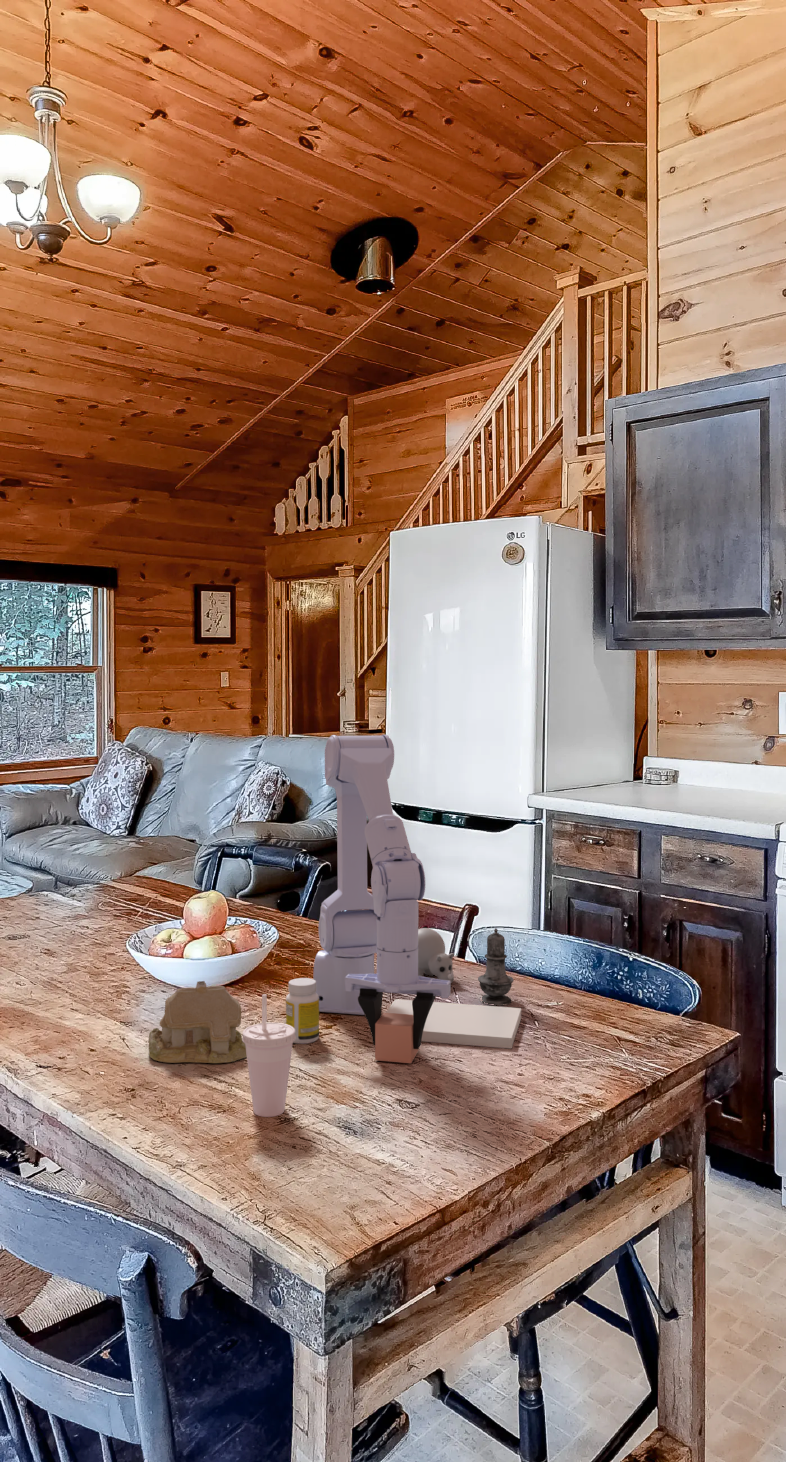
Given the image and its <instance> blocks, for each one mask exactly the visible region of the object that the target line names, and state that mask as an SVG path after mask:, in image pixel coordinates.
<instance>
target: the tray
mask: <svg viewBox="0 0 786 1462" xmlns="http://www.w3.org/2000/svg"><path fill="white" fill-rule="evenodd" d="M412 1001H413V999H411V1000H410V999H398V998H396V999H395V1000H394V1001H393V1002H392V1003H391V1005H390V1006H389V1007H388V1008H387V1010H386V1011H385V1012H384V1013H396V1014H409V1015H413V1007H412ZM521 1019H522V1008H521V1007H510V1006H509V1007H507V1006H496V1005H481V1004H479V1005H478V1004H467V1003H456V1002H455V1003H452V1002H441V1001H440V1002H439V1001H438V1002H437V1001H434V1002H433V1004H432V1006H431V1009H430V1011H429V1014H428V1016H427V1019H426V1022H425V1026H424V1029H423V1034H422V1040H421V1042H426V1043H439V1044H452V1045H463V1046H464V1045H465V1046H475V1047H476V1046H477V1047H489V1048H499V1049H501V1048H502V1049H512V1047H513V1045H514V1042H515V1039H516V1035H517V1033H518V1029H519V1026H520V1023H521Z"/></svg>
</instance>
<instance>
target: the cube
mask: <svg viewBox="0 0 786 1462" xmlns="http://www.w3.org/2000/svg"><path fill="white" fill-rule="evenodd" d="M413 1032H414V1019H413V1015H409V1014H396V1013H385V1012H383V1013H381V1017H380V1018H379V1020H378V1021H377V1022H376V1024H375V1046H374V1051H375V1052H374V1055H375V1056H374V1061H380V1062H390V1063H391V1062H392V1063H393V1062H394V1063H400V1064H401V1063H402V1064H412V1063H413V1061H414V1059H415V1057H416V1056H417V1055H418V1052H419V1049H420V1048H419V1049H413Z"/></svg>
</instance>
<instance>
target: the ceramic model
mask: <svg viewBox="0 0 786 1462" xmlns="http://www.w3.org/2000/svg"><path fill="white" fill-rule="evenodd" d="M164 1003H165V1006H164V1014H163V1017H162V1018H161V1019H160V1022H159V1026H160V1027H161V1030H160V1028H158V1027H154V1028H153V1029H151V1031H149V1033H148V1034H149V1035H148V1056H149V1057H150V1058H151V1059H152V1060H154V1061H155V1062H156V1061H158V1062H161V1063H162V1062H163V1063H168V1064H171V1063H175V1064H176V1063H178V1064H179V1063H208V1064H222V1063H224V1064H225V1063H231V1062H235V1061H240V1060H241V1059H245V1058H247V1055H246V1046H245V1043H244V1042H243V1041H242V1038H243V1035H242V1033H241V1032H240V1031H239V1030H237V1028H239V1027H240V1026H241V1023H242V1006H241V1003H240V1002H239V1000H238V999H236V998H235V997H234V996H233V995H231V994H230V992H229V991H228V990H227V989H226V987H225V986H223V985H210V986H207V983H206V982H205V980H203V981H196V986H195V987H183V988H182V987H181V988H177V989H176V991H175V992H173V994H172V995H171V996H169V997H167V998H166V1000H165V1001H164Z"/></svg>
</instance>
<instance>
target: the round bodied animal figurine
mask: <svg viewBox="0 0 786 1462" xmlns="http://www.w3.org/2000/svg"><path fill="white" fill-rule="evenodd" d="M454 955H455V953H454V952H451V953H448V954H447V953H446V943H445V941H444V939H443V937H442V936H441V934H440V933H439V932H437V931H436V930H434V929H432V928H429V927H422V928H418V976H423V977H424V975H426V976H428V975H429V976H428V977H435V976H436V977H437V979H439V980H448V981H450V984H451V983H453V982H454V979H455V976H454V970H453V966H454V965H453V964H454V963H453V958H454ZM433 975H435V976H433Z"/></svg>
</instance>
